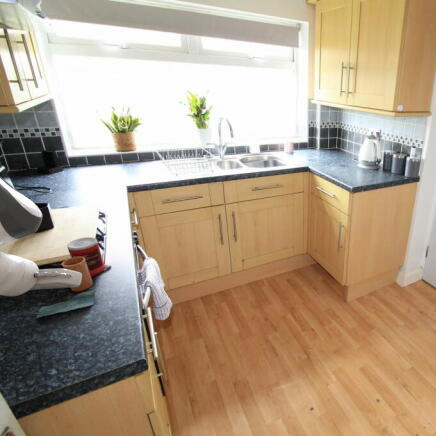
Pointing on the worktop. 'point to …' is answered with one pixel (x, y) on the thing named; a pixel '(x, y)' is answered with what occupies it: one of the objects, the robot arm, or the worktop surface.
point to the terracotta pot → (79, 266)
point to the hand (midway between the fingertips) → (52, 285)
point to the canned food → (88, 253)
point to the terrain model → (69, 304)
